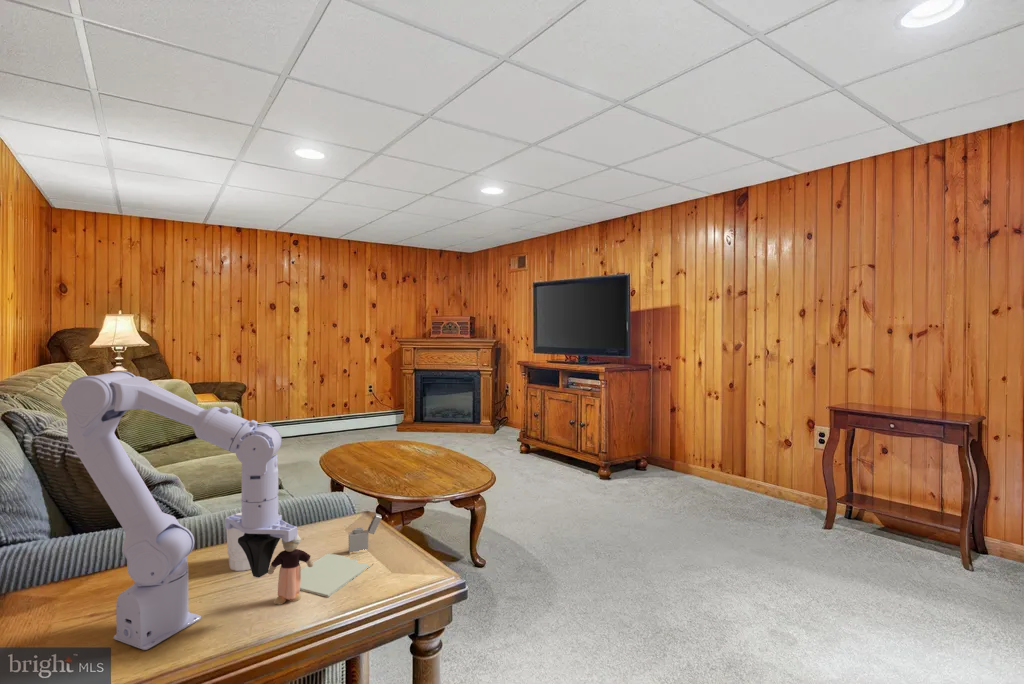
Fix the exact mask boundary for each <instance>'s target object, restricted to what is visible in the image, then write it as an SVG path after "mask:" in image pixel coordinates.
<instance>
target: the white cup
mask: <svg viewBox="0 0 1024 684" xmlns="http://www.w3.org/2000/svg"><path fill="white" fill-rule="evenodd" d="M235 514H236V515H242V512H238V513H235ZM225 533H226V545H227V546H226V547H227V554H228V555H227V556H228V567H229V569H230V570H232V571H237V572H243V571H249V570H250V571H251V568H250V564H249V561H248V559H247V556H246V554H245V552H244V550H243V549H242V547H241V546H240V545H239V543H238V538H239V537H242V536H244V534H245V533H244V532H242V531H240V530H239V529H235V528H231V529H226V532H225Z"/></svg>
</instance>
